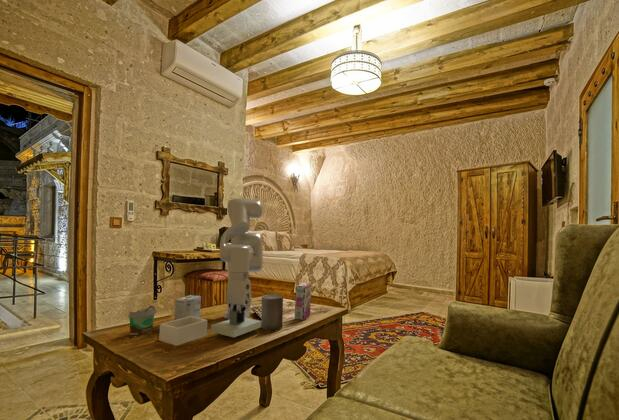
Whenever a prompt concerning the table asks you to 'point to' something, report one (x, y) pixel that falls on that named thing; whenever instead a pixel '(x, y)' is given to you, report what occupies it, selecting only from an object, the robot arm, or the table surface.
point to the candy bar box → (302, 301)
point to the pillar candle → (272, 312)
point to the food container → (142, 321)
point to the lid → (235, 325)
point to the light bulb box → (187, 307)
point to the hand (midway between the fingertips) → (237, 321)
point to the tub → (183, 330)
